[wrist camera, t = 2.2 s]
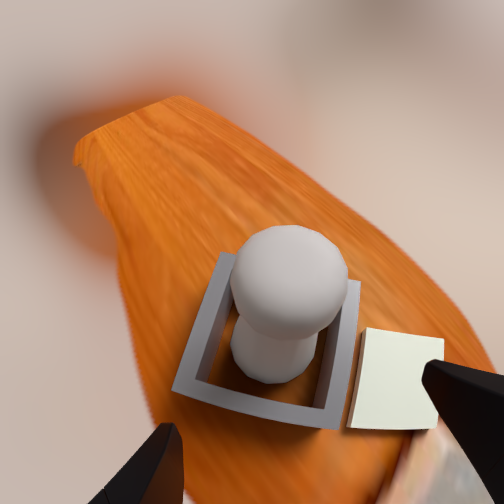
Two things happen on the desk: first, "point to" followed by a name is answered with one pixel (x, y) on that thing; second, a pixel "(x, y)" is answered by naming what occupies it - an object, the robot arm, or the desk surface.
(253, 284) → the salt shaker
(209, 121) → the desk surface
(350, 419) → the pad
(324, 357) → the frame
